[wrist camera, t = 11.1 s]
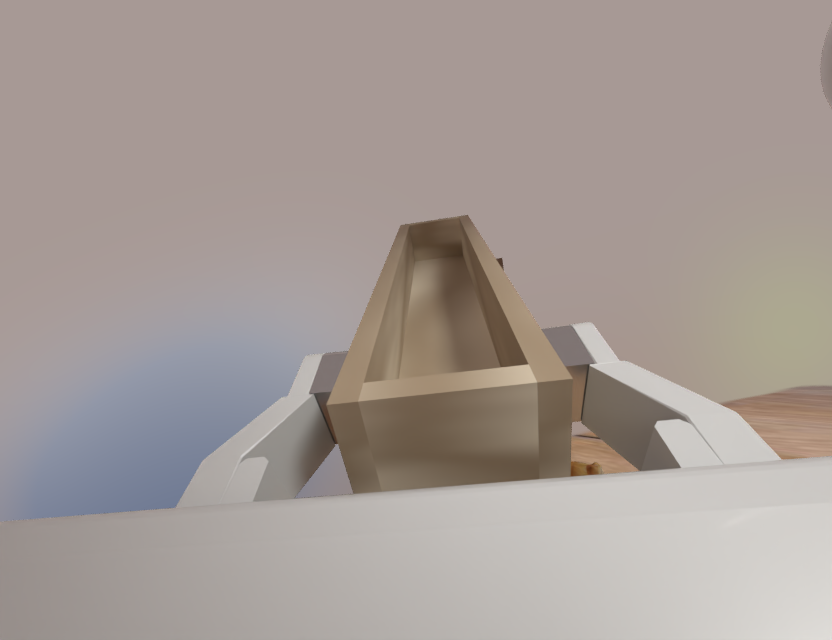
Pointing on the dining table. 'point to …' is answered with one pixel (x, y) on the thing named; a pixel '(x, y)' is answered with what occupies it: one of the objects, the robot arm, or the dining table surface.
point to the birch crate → (449, 373)
